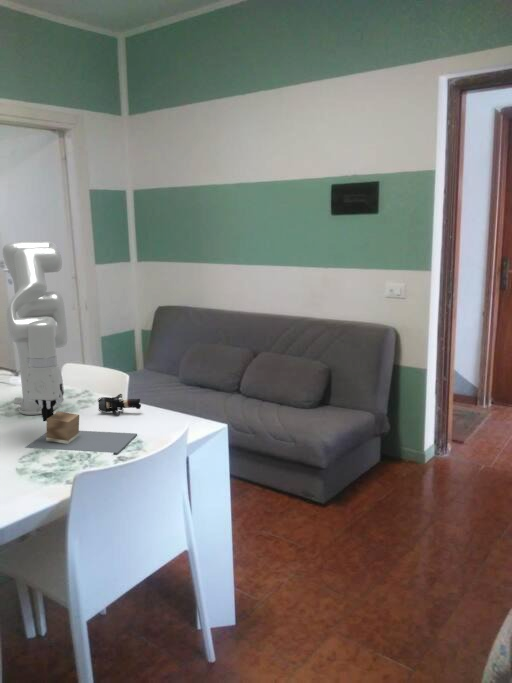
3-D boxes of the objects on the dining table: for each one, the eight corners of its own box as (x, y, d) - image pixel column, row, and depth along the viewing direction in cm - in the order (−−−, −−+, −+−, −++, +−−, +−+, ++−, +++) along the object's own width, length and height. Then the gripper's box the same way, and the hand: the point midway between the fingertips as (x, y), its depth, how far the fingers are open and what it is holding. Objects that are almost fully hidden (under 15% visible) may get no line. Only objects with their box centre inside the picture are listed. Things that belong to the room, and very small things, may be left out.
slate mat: (24, 449, 170) (24, 447, 170) (51, 430, 186) (51, 429, 186) (117, 454, 166) (117, 452, 166) (137, 435, 181) (137, 433, 181)
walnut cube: (46, 440, 174) (46, 418, 172) (57, 432, 180) (58, 411, 179) (68, 444, 173) (68, 422, 171) (78, 435, 180) (79, 414, 178)
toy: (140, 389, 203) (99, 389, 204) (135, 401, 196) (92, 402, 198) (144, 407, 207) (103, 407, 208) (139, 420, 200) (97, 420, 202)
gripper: (13, 363, 170) (18, 422, 174) (60, 365, 168) (64, 425, 171) (27, 358, 177) (32, 414, 181) (72, 360, 175) (76, 417, 179)
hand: (48, 419), depth 176 cm, fingers closed
